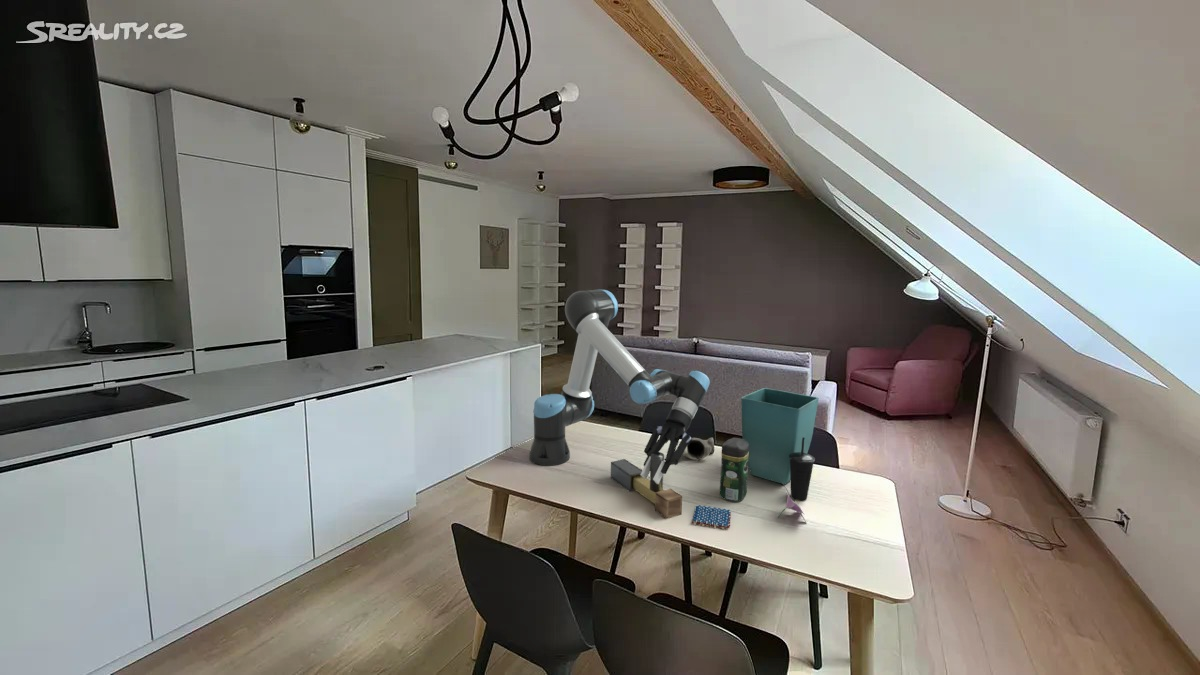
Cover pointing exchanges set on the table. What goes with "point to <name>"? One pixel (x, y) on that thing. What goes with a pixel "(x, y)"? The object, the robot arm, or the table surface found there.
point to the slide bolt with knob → (649, 486)
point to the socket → (668, 503)
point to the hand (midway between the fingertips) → (649, 479)
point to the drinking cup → (800, 473)
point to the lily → (792, 505)
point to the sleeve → (624, 473)
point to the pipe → (699, 448)
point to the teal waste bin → (776, 430)
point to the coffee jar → (734, 469)
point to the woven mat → (711, 517)
